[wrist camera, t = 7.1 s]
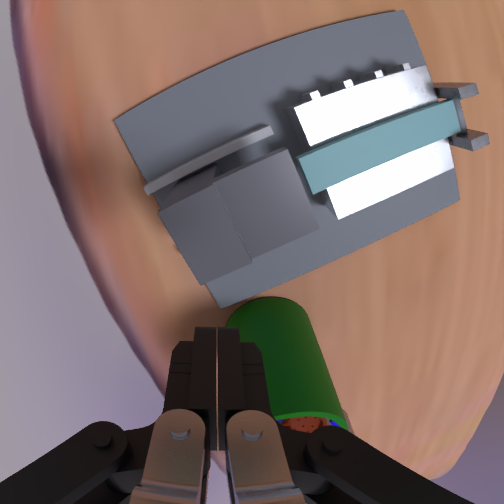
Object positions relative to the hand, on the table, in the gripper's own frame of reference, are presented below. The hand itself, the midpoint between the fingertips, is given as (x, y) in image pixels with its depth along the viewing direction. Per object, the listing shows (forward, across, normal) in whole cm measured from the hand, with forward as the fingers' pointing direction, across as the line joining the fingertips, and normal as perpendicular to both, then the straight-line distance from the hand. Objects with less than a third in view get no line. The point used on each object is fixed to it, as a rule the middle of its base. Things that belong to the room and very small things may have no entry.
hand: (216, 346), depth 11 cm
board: (+21, -8, -4) cm, 23 cm away
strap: (+16, -13, -7) cm, 22 cm away
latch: (+20, -1, -1) cm, 20 cm away
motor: (+21, -6, +16) cm, 27 cm away
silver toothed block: (+20, -14, -8) cm, 26 cm away
